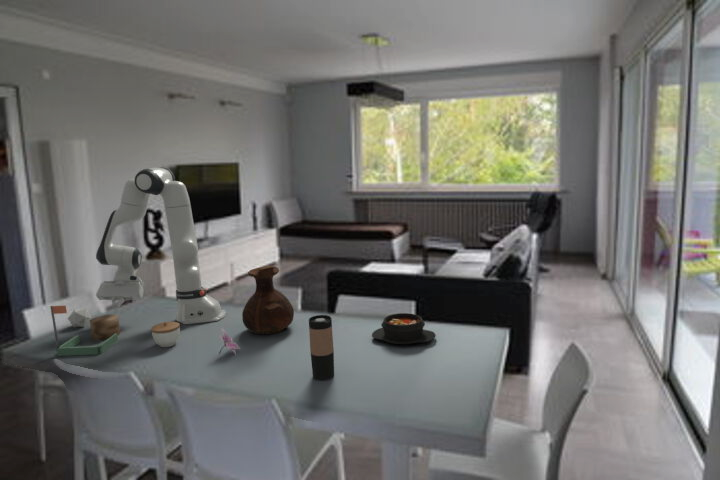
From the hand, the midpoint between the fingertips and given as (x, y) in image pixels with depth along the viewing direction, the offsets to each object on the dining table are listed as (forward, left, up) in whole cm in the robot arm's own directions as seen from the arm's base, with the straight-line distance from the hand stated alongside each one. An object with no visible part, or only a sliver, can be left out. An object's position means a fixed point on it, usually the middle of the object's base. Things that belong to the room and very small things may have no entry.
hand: (115, 307), depth 228 cm
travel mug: (-99, +61, -9) cm, 116 cm away
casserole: (-128, +31, -9) cm, 132 cm away
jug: (-72, +14, -9) cm, 74 cm away
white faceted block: (+18, -2, -9) cm, 21 cm away
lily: (-61, +38, -9) cm, 72 cm away
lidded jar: (-33, +26, -9) cm, 43 cm away
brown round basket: (-1, +12, -9) cm, 15 cm away
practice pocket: (-1, +26, -9) cm, 27 cm away
